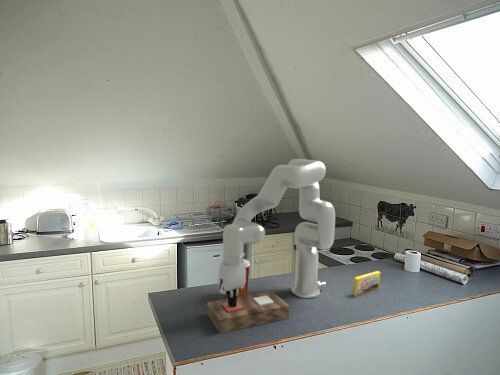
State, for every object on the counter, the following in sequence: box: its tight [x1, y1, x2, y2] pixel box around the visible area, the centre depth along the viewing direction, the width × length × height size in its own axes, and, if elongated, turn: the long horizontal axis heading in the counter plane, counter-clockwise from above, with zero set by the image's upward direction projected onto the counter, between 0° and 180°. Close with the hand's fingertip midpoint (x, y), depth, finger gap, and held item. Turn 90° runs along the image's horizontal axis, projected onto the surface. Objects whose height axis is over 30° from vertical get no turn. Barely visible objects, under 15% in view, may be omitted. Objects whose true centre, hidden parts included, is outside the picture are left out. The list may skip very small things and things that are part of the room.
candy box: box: [352, 270, 382, 297], centre depth 163 cm, size 16×2×8 cm, turn 124°
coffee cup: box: [237, 258, 251, 297], centre depth 157 cm, size 8×8×15 cm
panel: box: [206, 290, 290, 334], centre depth 139 cm, size 28×14×5 cm, turn 115°
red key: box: [222, 302, 243, 313], centre depth 136 cm, size 6×6×3 cm
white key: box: [253, 296, 274, 307], centre depth 141 cm, size 6×6×3 cm
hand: (232, 305), depth 135 cm, fingers closed
